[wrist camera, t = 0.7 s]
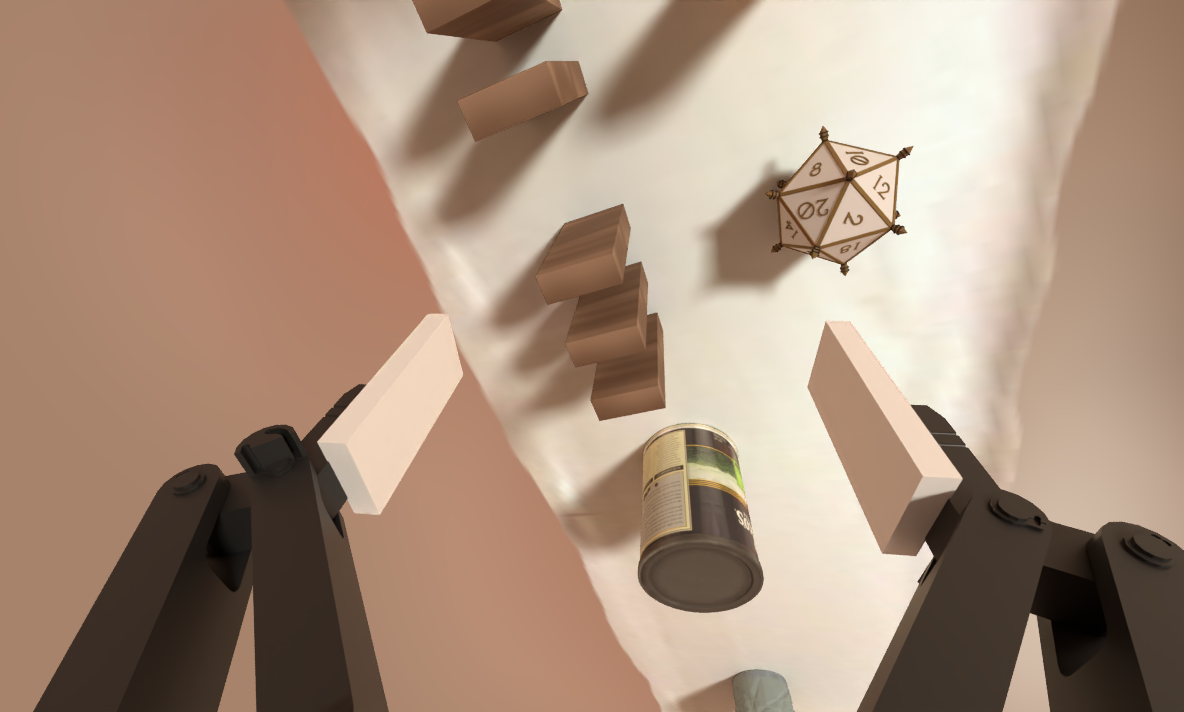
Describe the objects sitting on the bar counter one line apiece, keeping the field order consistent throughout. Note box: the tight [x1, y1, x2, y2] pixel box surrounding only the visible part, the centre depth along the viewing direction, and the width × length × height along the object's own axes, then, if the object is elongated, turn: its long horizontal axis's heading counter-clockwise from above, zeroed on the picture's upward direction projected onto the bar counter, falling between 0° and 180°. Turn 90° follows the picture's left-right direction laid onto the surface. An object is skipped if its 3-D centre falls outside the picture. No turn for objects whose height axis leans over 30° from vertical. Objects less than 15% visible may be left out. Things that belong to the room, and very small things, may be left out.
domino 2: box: [457, 61, 588, 142], centre depth 27 cm, size 2×5×11 cm, turn 110°
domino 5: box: [591, 313, 665, 421], centre depth 37 cm, size 2×5×11 cm, turn 110°
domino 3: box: [535, 204, 631, 305], centre depth 32 cm, size 2×5×11 cm, turn 110°
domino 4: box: [565, 262, 648, 367], centre depth 35 cm, size 2×5×11 cm, turn 110°
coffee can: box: [638, 423, 764, 613], centre depth 44 cm, size 10×10×14 cm
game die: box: [765, 126, 913, 276], centre depth 30 cm, size 9×8×10 cm
